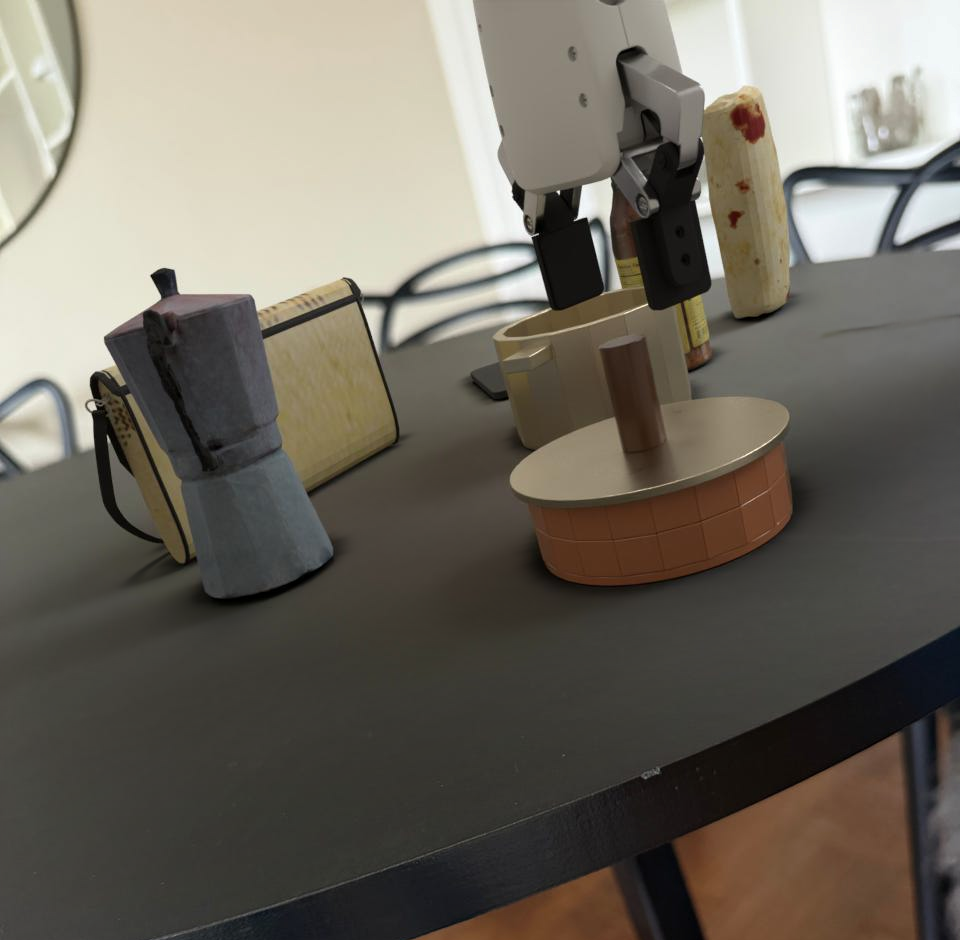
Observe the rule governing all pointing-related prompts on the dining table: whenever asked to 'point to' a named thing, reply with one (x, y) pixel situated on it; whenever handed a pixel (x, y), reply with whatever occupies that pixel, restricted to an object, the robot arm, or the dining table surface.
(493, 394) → the phone
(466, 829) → the dining table surface
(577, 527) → the pan
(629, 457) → the lid
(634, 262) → the sauce bottle
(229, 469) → the moka pot
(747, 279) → the food model
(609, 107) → the robot arm
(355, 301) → the clutch purse
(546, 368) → the pot
